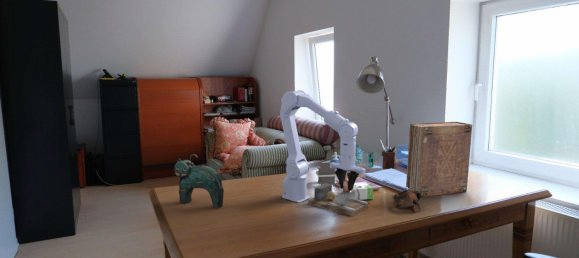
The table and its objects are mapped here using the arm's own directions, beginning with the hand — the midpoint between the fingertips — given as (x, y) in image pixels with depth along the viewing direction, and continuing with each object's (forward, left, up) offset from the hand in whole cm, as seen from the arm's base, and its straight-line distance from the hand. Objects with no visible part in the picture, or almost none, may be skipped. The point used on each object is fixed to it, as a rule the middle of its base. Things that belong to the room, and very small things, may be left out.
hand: (346, 189), depth 146 cm
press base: (-4, 0, -7) cm, 8 cm away
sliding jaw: (0, 0, -6) cm, 6 cm away
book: (+19, +44, -8) cm, 49 cm away
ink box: (0, +18, -5) cm, 19 cm away
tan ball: (-7, 0, -4) cm, 8 cm away
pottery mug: (+18, +16, -8) cm, 26 cm away
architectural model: (-24, +21, -8) cm, 33 cm away
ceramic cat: (-45, -34, -8) cm, 57 cm away
